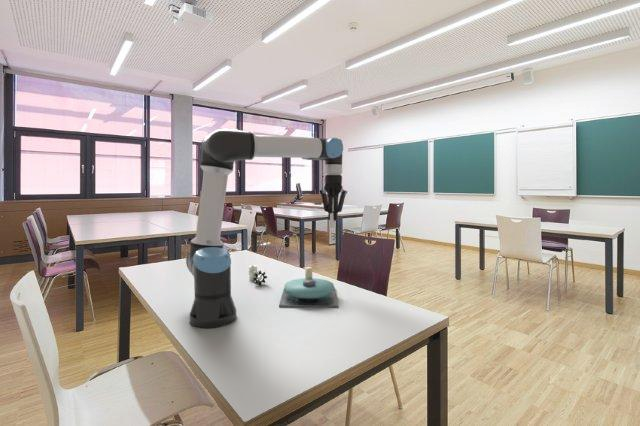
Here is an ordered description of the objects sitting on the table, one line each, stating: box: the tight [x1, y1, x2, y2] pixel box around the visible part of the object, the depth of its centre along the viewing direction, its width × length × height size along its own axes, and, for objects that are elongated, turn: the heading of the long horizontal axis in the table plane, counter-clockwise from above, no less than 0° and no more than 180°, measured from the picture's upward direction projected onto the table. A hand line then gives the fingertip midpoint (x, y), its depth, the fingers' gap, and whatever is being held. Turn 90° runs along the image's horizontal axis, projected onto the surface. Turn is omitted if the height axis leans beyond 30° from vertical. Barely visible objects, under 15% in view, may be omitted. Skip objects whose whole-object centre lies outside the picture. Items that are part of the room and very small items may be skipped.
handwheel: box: [283, 266, 335, 299], centre depth 135 cm, size 20×20×7 cm
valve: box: [248, 264, 268, 286], centre depth 155 cm, size 7×7×12 cm
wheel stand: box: [278, 286, 339, 308], centre depth 135 cm, size 22×22×3 cm
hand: (332, 227), depth 149 cm, fingers closed
